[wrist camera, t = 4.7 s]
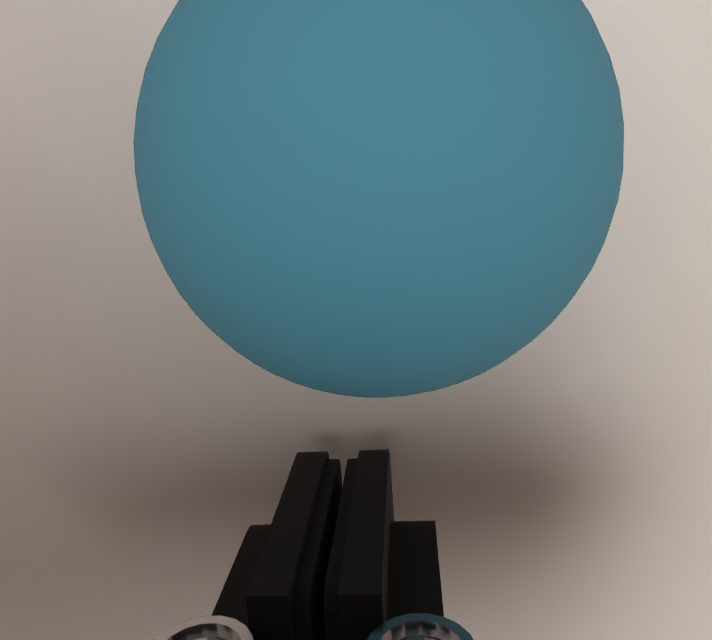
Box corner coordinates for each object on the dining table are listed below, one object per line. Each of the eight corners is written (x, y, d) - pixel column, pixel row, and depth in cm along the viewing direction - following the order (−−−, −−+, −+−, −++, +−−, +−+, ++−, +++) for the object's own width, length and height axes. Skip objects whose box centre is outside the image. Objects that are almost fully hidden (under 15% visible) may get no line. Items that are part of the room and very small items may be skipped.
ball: (45, -265, 4) (276, -200, 8) (15, 394, 7) (189, 180, 12) (883, 132, 4) (662, -14, 9) (482, 556, 8) (472, 293, 13)
